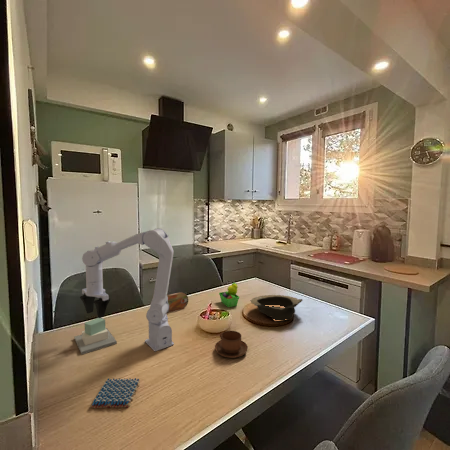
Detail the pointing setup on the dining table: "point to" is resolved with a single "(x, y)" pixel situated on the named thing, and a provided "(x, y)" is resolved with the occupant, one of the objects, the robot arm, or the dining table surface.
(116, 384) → the woven mat
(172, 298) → the tin
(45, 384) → the dining table surface
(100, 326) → the brick
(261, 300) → the stone bowl
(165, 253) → the robot arm
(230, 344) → the cup and saucer
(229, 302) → the fruit basket
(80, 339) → the baseplate
